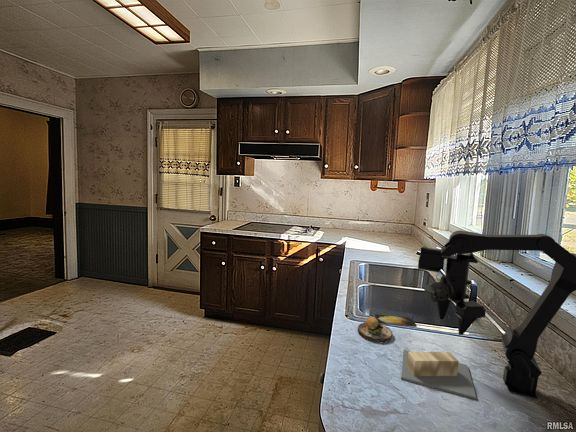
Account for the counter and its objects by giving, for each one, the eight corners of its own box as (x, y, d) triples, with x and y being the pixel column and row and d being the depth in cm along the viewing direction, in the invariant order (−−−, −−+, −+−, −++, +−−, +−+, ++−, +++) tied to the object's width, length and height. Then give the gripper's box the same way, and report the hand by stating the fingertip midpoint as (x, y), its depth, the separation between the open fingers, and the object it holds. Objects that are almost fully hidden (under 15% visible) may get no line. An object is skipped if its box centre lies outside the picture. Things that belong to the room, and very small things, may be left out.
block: (449, 352, 91) (408, 351, 91) (458, 361, 87) (415, 360, 86) (447, 366, 92) (406, 365, 91) (456, 375, 88) (413, 375, 87)
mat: (467, 366, 93) (467, 364, 93) (475, 399, 79) (476, 397, 79) (403, 351, 100) (403, 349, 100) (401, 379, 86) (401, 377, 86)
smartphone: (417, 326, 117) (376, 322, 118) (417, 328, 117) (376, 324, 118) (411, 317, 124) (373, 314, 125) (411, 319, 124) (373, 315, 125)
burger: (393, 345, 104) (395, 324, 103) (357, 340, 106) (359, 319, 105) (389, 328, 115) (391, 309, 114) (357, 324, 117) (358, 305, 116)
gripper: (413, 265, 97) (409, 312, 99) (449, 286, 79) (443, 344, 81) (447, 265, 98) (441, 312, 100) (490, 286, 80) (483, 343, 82)
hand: (450, 326), depth 91 cm, fingers open, 9 cm apart
